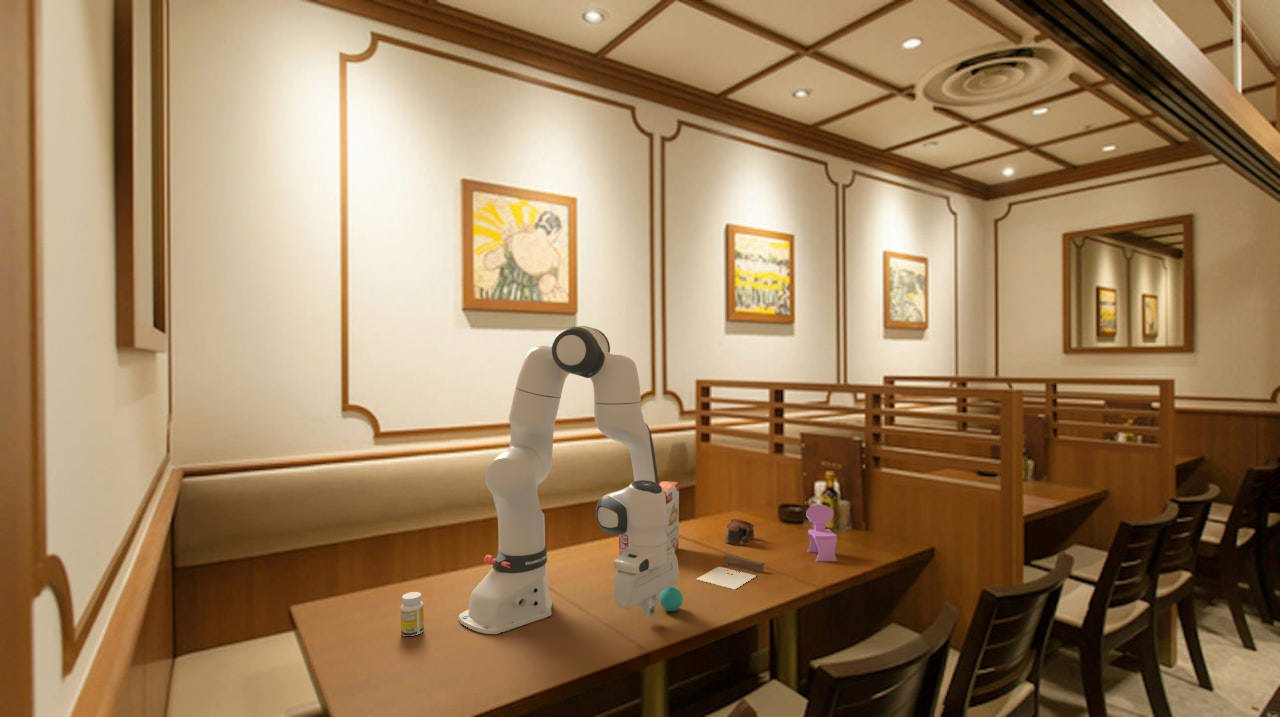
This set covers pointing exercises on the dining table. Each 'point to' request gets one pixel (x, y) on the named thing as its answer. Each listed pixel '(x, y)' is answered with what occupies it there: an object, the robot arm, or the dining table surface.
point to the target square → (726, 578)
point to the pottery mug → (739, 532)
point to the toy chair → (821, 533)
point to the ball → (671, 599)
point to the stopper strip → (744, 563)
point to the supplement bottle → (412, 614)
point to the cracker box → (672, 512)
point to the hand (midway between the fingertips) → (649, 614)
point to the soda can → (623, 543)
